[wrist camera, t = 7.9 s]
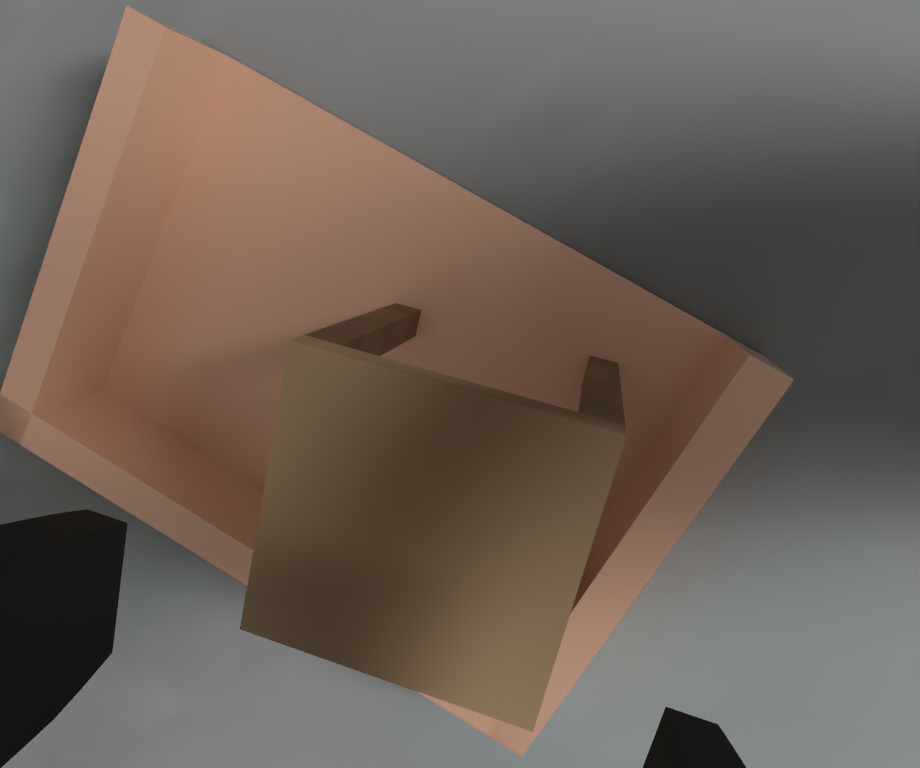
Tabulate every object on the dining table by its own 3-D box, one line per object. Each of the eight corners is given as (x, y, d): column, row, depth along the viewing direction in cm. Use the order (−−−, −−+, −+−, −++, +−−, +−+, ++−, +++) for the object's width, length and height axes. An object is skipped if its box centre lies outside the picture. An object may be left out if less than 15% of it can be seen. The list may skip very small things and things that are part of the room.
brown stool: (618, 363, 17) (626, 435, 11) (555, 568, 18) (533, 732, 12) (395, 303, 17) (289, 339, 12) (353, 504, 19) (240, 629, 13)
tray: (762, 354, 16) (794, 379, 14) (533, 684, 19) (522, 757, 17) (200, 40, 17) (126, 5, 15) (69, 399, 20) (-11, 425, 18)
